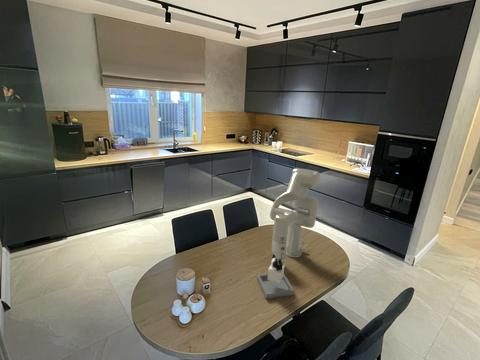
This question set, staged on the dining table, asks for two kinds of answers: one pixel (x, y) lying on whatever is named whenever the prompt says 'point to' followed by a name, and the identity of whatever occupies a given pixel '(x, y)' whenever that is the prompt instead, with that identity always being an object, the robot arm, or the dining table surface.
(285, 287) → the tray
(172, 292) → the dining table surface
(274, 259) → the medicine bottle
